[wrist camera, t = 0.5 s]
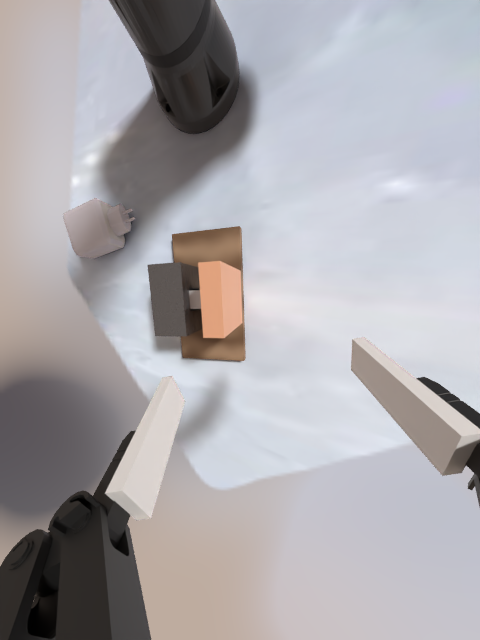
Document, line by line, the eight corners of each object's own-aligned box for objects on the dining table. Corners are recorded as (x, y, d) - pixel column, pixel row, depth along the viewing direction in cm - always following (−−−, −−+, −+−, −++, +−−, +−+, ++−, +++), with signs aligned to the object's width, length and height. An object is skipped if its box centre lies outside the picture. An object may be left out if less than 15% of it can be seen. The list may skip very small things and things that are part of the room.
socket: (175, 270, 38) (147, 264, 30) (201, 268, 36) (180, 262, 29) (180, 326, 39) (155, 335, 32) (205, 327, 38) (186, 336, 30)
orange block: (196, 273, 36) (157, 265, 25) (240, 270, 34) (220, 260, 23) (200, 322, 38) (164, 336, 26) (242, 322, 36) (224, 338, 24)
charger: (148, 240, 40) (96, 259, 43) (135, 196, 39) (84, 219, 42) (130, 233, 35) (75, 255, 39) (116, 183, 34) (60, 211, 38)
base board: (176, 236, 38) (171, 234, 36) (241, 228, 35) (239, 226, 33) (186, 355, 42) (182, 357, 40) (245, 358, 39) (244, 360, 37)
